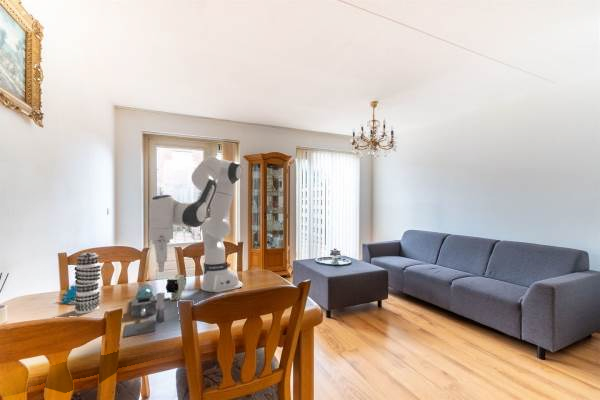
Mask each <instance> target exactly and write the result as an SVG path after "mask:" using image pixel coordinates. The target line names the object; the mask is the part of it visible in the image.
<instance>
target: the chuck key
mask: <svg viewBox="0 0 600 400" xmlns="http://www.w3.org/2000/svg"><path fill="white" fill-rule="evenodd" d="M155 296H156V300H151V303H150V304H154V303H156V314H155V323H157V324H158V323H162V322H165V303H166V302H171V297H165V292H157V293H156V295H155Z"/></svg>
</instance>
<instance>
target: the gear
mask: <svg viewBox="0 0 600 400" xmlns="http://www.w3.org/2000/svg"><path fill="white" fill-rule="evenodd" d="M76 291H77V286H76V284H75V285H70V289H68V288H67V289H66V290H65V292H66V293H62V295H61V296H62V298H61V301H62V303H63V304H70V303H71V302H76V301H75V300H76V297H75V296H76Z"/></svg>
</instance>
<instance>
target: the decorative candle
mask: <svg viewBox="0 0 600 400" xmlns="http://www.w3.org/2000/svg"><path fill="white" fill-rule="evenodd" d="M99 256H100V255H99V254H97V253H96V252H94V251H89V252H88V251H87V252H82V253H80V254H78V256H77V257H76V258H75V259H76V260H77V261H76V266H75V267H74V269H73V270H74V271H75V272H74V275H75V276H74V278H75V281H74V283H75V285H76V286H77V291H76V296H75V297H76V298H75V301H74V302H75V304H74V306H75V307H74V309H75V313H76V314H88V313H92V312H95V311H97V310H99V309H100V306H99V305H100V291H99V283H100V278H101V277H100V276H101V274H100V273H99V272H100V271H101V269H100V268H101V265H100V262H99V260H100V259H99V258H100V257H99Z"/></svg>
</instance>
